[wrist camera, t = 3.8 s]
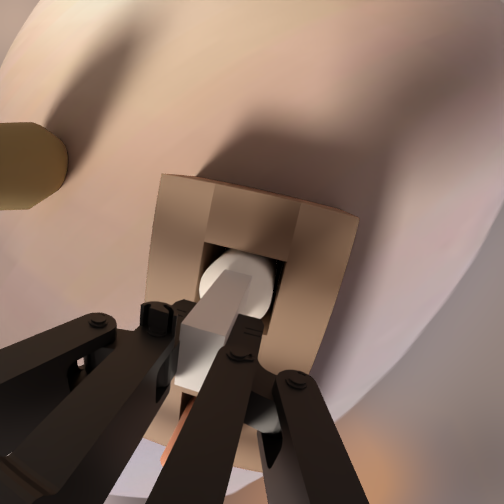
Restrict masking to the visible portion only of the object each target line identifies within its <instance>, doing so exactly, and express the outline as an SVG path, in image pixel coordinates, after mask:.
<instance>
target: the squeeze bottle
mask: <svg viewBox="0 0 504 504" xmlns="http://www.w3.org/2000/svg"><path fill="white" fill-rule="evenodd" d="M67 165H68V156H67V151H66V147H65V145H64V144H63V142H62V141H61V140H60V139H59V138H58V137H56V136H55V135H53V134H52V133H51V132H49V131H48V130H46V129H45V128H44V127H42V126H41V125H38V124H36V123H33V122H18V123H0V210H25V209H30V208H32V207H33V206H35V205H36V204H38V203H39V202H41V201H42V200H44V199H46V198H47V197H49V196H50V195H52V194H53V193H55V192H56V191H57V190H59V188H60V186H61V185H62V183H63V182H64V179H65V175H66V172H67Z"/></svg>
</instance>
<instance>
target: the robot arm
mask: <svg viewBox="0 0 504 504" xmlns="http://www.w3.org/2000/svg"><path fill="white" fill-rule="evenodd" d="M251 280H252V276H250V275H246V274H242V273H238V272H234V271H231V270H227V269H225V270H224V271H223V272H222V273H221V274H220V276H219V277H218V278H217V279H216V281H215V282H214V283H213V284H212V286H211V287H210V288H209V289H208V290H207V292H206V293H205V294H204V295H203V297H202V298H201V299H200V300H199V302H198V303H196V302H192V301H189V300H185V299H183V300H180V301H177V302H175V303H174V304H173V305H170V304H167V303H164V302H159V301H150V302H145V303H143V304H141V312H140V326H139V327H138V328H137V329H135V330H134V331H129V330H123V329H117V323H116V320H115V319H114V318H113V317H112V316H110V315H107V314H104V313H90V314H86V315H84V316H82V317H79V318H77V319H74V320H72V321H69V322H67V323H64V324H62V325H59V326H57V327H54V328H52V329H49V330H47V331H44V332H42V333H39V334H37V335H35V336H32V337H30V338H27V339H25V340H22V341H20V342H17V343H15V344H12V345H10V346H7V347H5V348H3V349H0V504H103V503H104V502H105V500H106V498H107V497H108V495H109V493H110V492H111V490H112V488H113V487H114V485H115V483H116V482H117V480H118V478H119V476H120V475H121V473H122V471H123V470H124V468H125V466H126V465H127V463H128V461H129V460H130V458H131V456H132V455H133V453H134V451H135V450H136V448H137V446H138V444H139V443H140V441H141V439H142V438H143V436H144V434H145V433H146V431H147V429H148V428H149V426H150V424H151V423H152V421H153V419H154V417H155V416H156V414H157V412H158V411H159V409H160V407H161V406H162V404H163V402H164V401H165V399H166V397H167V396H168V394H169V392H170V386H171V380H172V379H173V377H174V376H175V382H174V384H175V385H178V386H181V387H184V388H187V389H190V390H193V391H196V392H199V393H198V395H197V397H196V399H195V401H194V403H193V405H192V408H191V410H190V412H189V414H188V416H187V418H186V420H185V422H184V424H183V427H182V429H181V431H180V433H179V435H178V437H177V439H176V441H175V443H174V445H173V447H172V450H171V452H170V454H169V456H168V458H167V460H166V462H165V464H164V466H163V468H162V470H161V472H160V474H159V477H158V479H157V481H156V483H155V485H154V487H153V489H152V491H151V493H150V495H149V497H148V499H147V501H146V503H145V504H223V502H224V497H225V494H226V490H227V487H228V483H229V479H230V475H231V471H232V467H233V463H234V459H235V455H236V451H237V447H238V443H239V439H240V435H241V431H242V427H243V423H244V424H246V425H248V426H250V427H252V428H254V429H256V430H257V440H258V446H259V452H260V458H261V464H262V470H263V476H264V482H265V487H266V493H267V499H268V504H369V502H368V500H367V497H366V495H365V493H364V490H363V488H362V486H361V483H360V481H359V479H358V476H357V474H356V472H355V470H354V467H353V465H352V463H351V461H350V458H349V456H348V453H347V451H346V449H345V447H344V445H343V442H342V440H341V438H340V435H339V433H338V431H337V428H336V426H335V424H334V422H333V419H332V417H331V415H330V412H329V410H328V408H327V406H326V403H325V401H324V399H323V397H322V394H321V392H320V390H319V388H318V385H317V383H316V382H315V380H314V379H313V378H312V377H311V376H309V375H308V374H306V373H304V372H302V371H298V370H284V371H281V372H279V373H278V375H275V374H273V373H271V372H269V371H267V370H266V369H265V368H263V367H262V366H261V364H260V363H259V361H258V353H259V349H260V344H261V340H262V335H263V330H264V324H263V322H262V320H261V319H259V318H255V317H251V316H247V315H244V310H245V306H246V302H247V297H248V293H249V289H250V284H251ZM81 358H84V365H82V366H78V365H77V360H79V359H81ZM10 453H11V454H10ZM8 454H10V455H8ZM7 455H8V456H7Z"/></svg>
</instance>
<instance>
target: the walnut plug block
mask: <svg viewBox="0 0 504 504" xmlns="http://www.w3.org/2000/svg"><path fill="white" fill-rule="evenodd" d="M359 220H360V218H358V217H356V216H354V215H352V214H350V213H347V212H345V211H343V210H341V209H337V208H333V207H329V206H326V205H322V204H318V203H314V202H310V201H306V200H302V199H298V198H294V197H290V196H286V195H281V194H277V193H273V192H268V191H264V190H259V189H255V188H250V187H246V186H241V185H236V184H231V183H227V182H222V181H217V180H212V179H206V178H201V177H196V176H185V175H173V174H161V180H160V185H159V191H158V197H157V203H156V209H155V215H154V222H153V229H152V236H151V244H150V252H149V260H148V270H147V280H146V291H145V302H150V301H159V302H164V303H167V304H170V305H173V304H174V303H175V302H177V301H180V300H183V299H185V300H189V301H192V302H196V303H198V302H199V300H200V299H201V298H200V293H199V287H200V281H201V278H202V276H203V274H204V272H205V271H206V270H207V269H208V268H209V267H210V266H211V265H212V264H213V263H214V262H215V261H216V260H217V259H218V258H219V257H220V256H221V255H222V251H223V246H224V247H228V248H233V249H237V250H241V251H245V252H249V253H253V254H257V255H261V256H265V257H269V258H273V259H277V260H282V261H283V264H282V268H281V272H280V276H279V280H278V284H277V287H276V291H275V295H274V299H273V298H271V303H270V306H269V308H268V310H267V312H266V313H265V315H264V316H263V317H262V318H261V320H262V322H263V324H264V330H263V335H262V340H261V344H260V349H259V353H258V361H259V363H260V364H261V366H262V367H263V368H265V369H266V370H267V371H269V372H271V373H273V374H275V375H278V373H279V372H281V371H284V370H298V371H302V372H304V373H306V374H308V375H309V372H310V370H311V367H312V365H313V362H314V360H315V357H316V354H317V352H318V349H319V347H320V344H321V341H322V338H323V336H324V333H325V330H326V327H327V325H328V322H329V319H330V316H331V313H332V310H333V307H334V304H335V301H336V298H337V295H338V292H339V289H340V286H341V283H342V279H343V276H344V273H345V270H346V266H347V263H348V260H349V256H350V253H351V249H352V246H353V242H354V238H355V235H356V231H357V227H358V223H359ZM174 382H175V376H174V377H173V379H172V380H171V386H170V392H169V394H168V396H167V397H166V399H165V401H164V402H163V404H162V406H161V407H160V409H159V411H158V412H157V414H156V416H155V417H154V419H153V421H152V423H151V424H150V426H149V428H148V429H147V431H146V433H145V434H144V436H143V438H145V439H148V440H150V441H153V442H155V443H158V444H161V445H163V446H167V444H168V442H169V440H170V438H171V436H172V434H173V432H174V430H175V428H176V426H177V424H178V422H179V420H180V418H181V416H182V414H183V412H184V410H185V408H186V406H187V404H188V402H189V400H190V399H191V398H193V397H194V396H197V395H198V393H199V392H196V391H193V390H190V389H187V388H184V387H181V386H178V385H175V384H174ZM233 467H237V468H242V469H246V470H251V471H256V472H262V473H263V470H262V464H261V458H260V452H259V446H258V440H257V430H256V429H254V428H252V427H250V426H248V425H246V424H244V423H243V427H242V431H241V435H240V439H239V443H238V447H237V451H236V455H235V459H234V463H233Z"/></svg>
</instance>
